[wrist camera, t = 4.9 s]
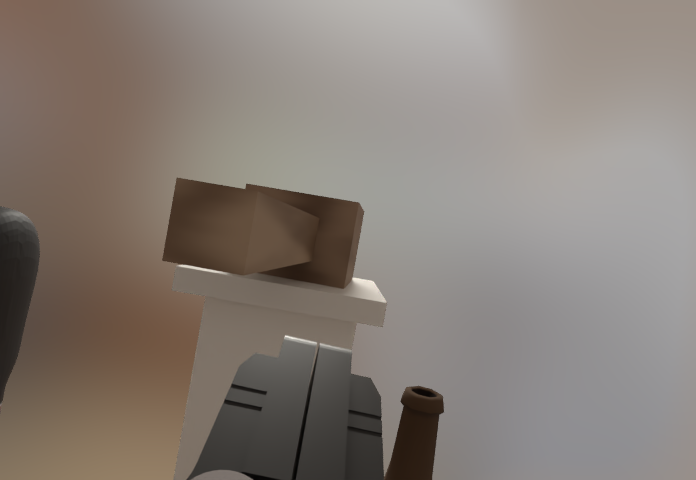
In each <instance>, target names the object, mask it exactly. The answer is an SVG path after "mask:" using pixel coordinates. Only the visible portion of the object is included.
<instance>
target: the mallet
mask: <svg viewBox="0 0 696 480" xmlns="http://www.w3.org/2000/svg"><path fill="white" fill-rule="evenodd" d="M363 215H364V211H363V209H362V207H361V205H360V204H359V203H358V202H352V201H346V200H340V199H334V198H328V197H322V196H316V195H311V194H304V193H299V192H292V191H287V190H280V189H275V188H269V187H263V186H257V185H251V184H246V189H241V188H235V187H229V186H223V185H217V184H211V183H205V182H199V181H194V180H188V179H181V178H177V179H176V185H175V191H174V197H173V202H172V209H171V214H170V219H169V225H168V231H167V237H166V242H165V248H164V255H163V259H162V260H163V261H167V262H173V263H178V264H183V265H189V266H194V267H199V268H205V269H210V270H216V271H221V272H226V273H232V274H237V275H243V276H244V275H249V274H253V273H260V274H265V275H271V276H276V277H282V278H287V279H292V280H298V281H303V282H309V283H314V284H319V285H325V286H330V287H336V288H341V289H344V288H345V287H346V286H347V285H348V284H349V283H350V282H351V281H352V278H353V271H354V266H355V261H356V255H357V249H358V243H359V238H360V232H361V226H362V221H363Z"/></svg>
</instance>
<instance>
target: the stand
mask: <svg viewBox="0 0 696 480" xmlns="http://www.w3.org/2000/svg"><path fill="white" fill-rule="evenodd" d="M172 290H173V291H179V292H184V293H190V294H196V295H202V296H206V297H205V302H204V309H203V314H202V320H201V325H200V331H199V337H198V343H197V348H196V354H195V360H194V365H193V371H192V377H191V382H190V388H189V394H188V399H187V405H186V411H185V417H184V422H183V428H182V434H181V439H180V446H179V451H178V457H177V462H176V468H175V474H174V480H186V479H187V478H188V477H189V475H190V474H191V473H192V471H193V469H194V467H195V466H196V463H197V461H198V459H199V456H200V454H201V452H202V450H203V447H204V445H205V443H206V441H207V438H208V436H209V434H210V431H211V429H212V427H213V425H214V422H215V420H216V418H217V415H218V413H219V411H220V409H221V406H222V404H223V403H224V400H225V397H226V395H227V393H228V390H229V388H230V387H231V384H232V381H233V379H234V377H235V374H236V372H237V370H238V368H239V366H240V365H241V364H242V363H243V362H245V361H246V360H247V359H248V358H250V357H251V356H252V355H253V354H255V353H259V354H264V355H268V356H273V357H277V358H278V356H279V353H280V350H281V346H282V343H283V340H284V337H285V335H288V336H292V337H297V338H301V339H306V340H310V341H315V342H317V346H316V351H315V356H314V362H313V367H314V363H315V359H316V355H317V351H318V347H319V344H320V343H323V344H328V345H332V346H336V347H341V348H345V349H350V350H352V346H353V340H354V335H355V329H356V323H362V324H367V325H373V326H378V327H383V322H384V317H385V311H386V305H387V302H386V301H385V299H384V298H383V296H382V294H381V293H380V291H379V289H378V288H377V286H376V285H375V283H374V281H368V280H363V279H358V278H352V281H351V282H350V283H349V284H348V285H347V286H346V287H345V288H344V289H341V288H336V287H330V286H325V285H319V284H314V283H309V282H303V281H298V280H292V279H287V278H282V277H276V276H271V275H265V274H260V273H253V274H249V275H244V276H243V275H237V274H232V273H226V272H221V271H216V270H210V269H205V268H199V267H194V266H189V265H179V266H176V269H175V274H174V280H173V286H172ZM313 367H312V371H313ZM311 375H312V372H311ZM310 379H311V377H310Z"/></svg>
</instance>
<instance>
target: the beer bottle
mask: <svg viewBox="0 0 696 480" xmlns="http://www.w3.org/2000/svg"><path fill="white" fill-rule="evenodd" d="M401 403H402V404H403V405H404V407H403V411H402V415H401V420H400V424H399V428H398V432H397V437H396V441H395V445H394V449H393V453H392V458H391V461H390V464H389V467H388V469H387V472H386V475H385V477H384V480H432V472H433V464H434V455H435V447H436V438H437V430H438V421H439V414H441V413H443V412H444V406H443V396H442V395H441V394H439V393H437V392H435V391H433V390H432V389H429V388H424V387H420V386H415V387H406V389H405V391H404V393H403V395H402V398H401Z"/></svg>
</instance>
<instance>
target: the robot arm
mask: <svg viewBox="0 0 696 480" xmlns="http://www.w3.org/2000/svg"><path fill="white" fill-rule="evenodd" d="M39 250H40V248H39V239H38V235H37V231H36V229H35V226H34V224H33V223H32V222H31V220H30V219H29V218H28V217H27V216H26V215H24V214H22V213H21V212H19V211H16V210H13V209H9V208H5V207H0V412H1V406H2V401H3V395H4V390H5V386H6V383H7V381H8V378H9V376H10V374H11V372H12V369H13V367H14V365H15V362H16V359H17V357H18V353H19V349H20V345H21V340H22V335H23V331H24V327H25V322H26V318H27V314H28V310H29V306H30V301H31V297H32V294H33V290H34V286H35V281H36V276H37V272H38V265H39V257H40V256H39V255H40V251H39ZM316 346H317V342H315V341H310V340H306V339H301V338H297V337H292V336H288V335H285V337H284V340H283V343H282V346H281V350H280V353H279V356H278V358H277V357H273V356H268V355H264V354H259V353H255V354H253V355H252V356H251V357H250V358H248V359H247V360H246V361H245V362H243V363H242V364H241V365H240V366H239V368H238V370H237V372H236V374H235V377H234V379H233V381H232V384H231V387H230V388H229V390H228V393H227V395H226V397H225V400H224V403H223V404H222V406H221V409H220V411H219V413H218V415H217V418H216V420H215V422H214V425H213V427H212V429H211V431H210V434H209V436H208V438H207V441H206V443H205V445H204V447H203V450H202V452H201V454H200V456H199V459H198V461H197V463H196V466H195V467H194V469H193V471H192V473H191V474H190V475H189V477H188V478H187V479H186V480H384V470H383V444H382V438H381V437H382V421H381V397H380V395H379V393H378V391H377V389H376V387H375V385H374V384H373V382H372V380H371V378H368V377H363V376H358V375H354V374H351V358H352V350H350V349H345V348H341V347H336V346H332V345H328V344H323V343H320V344H319V347H318V351H317V355H316V359H315V363H314V367H313V362H314V356H315V351H316ZM312 367H313V371H312ZM311 372H312V375H311ZM310 377H311V379H310Z"/></svg>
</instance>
